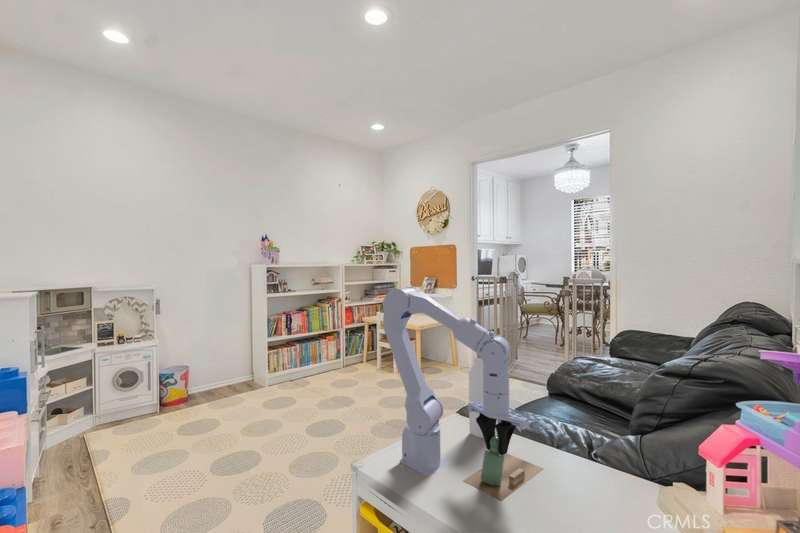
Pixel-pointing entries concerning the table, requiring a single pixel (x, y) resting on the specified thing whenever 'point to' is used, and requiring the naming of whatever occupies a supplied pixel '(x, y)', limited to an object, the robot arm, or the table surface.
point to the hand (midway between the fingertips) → (496, 450)
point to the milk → (476, 395)
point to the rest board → (506, 477)
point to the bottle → (492, 464)
